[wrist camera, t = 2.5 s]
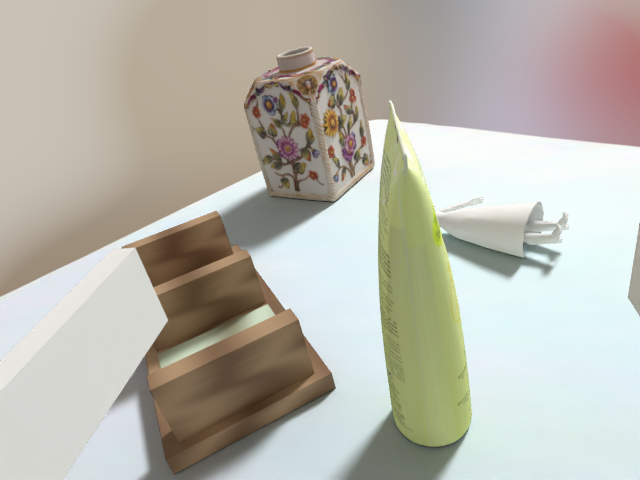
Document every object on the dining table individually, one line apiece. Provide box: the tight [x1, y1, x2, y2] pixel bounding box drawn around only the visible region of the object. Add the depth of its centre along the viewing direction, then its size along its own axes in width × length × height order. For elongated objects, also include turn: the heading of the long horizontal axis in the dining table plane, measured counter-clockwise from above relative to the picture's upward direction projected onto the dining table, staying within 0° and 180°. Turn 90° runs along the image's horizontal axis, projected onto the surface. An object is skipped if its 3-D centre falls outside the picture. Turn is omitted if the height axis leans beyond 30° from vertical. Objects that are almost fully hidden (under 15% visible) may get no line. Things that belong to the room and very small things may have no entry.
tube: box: [378, 100, 472, 447], centre depth 25 cm, size 6×5×20 cm
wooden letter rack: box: [122, 211, 336, 474], centre depth 40 cm, size 12×24×6 cm, turn 26°
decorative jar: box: [244, 47, 375, 202], centre depth 63 cm, size 12×12×18 cm
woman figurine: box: [433, 197, 569, 258], centre depth 47 cm, size 12×4×18 cm
